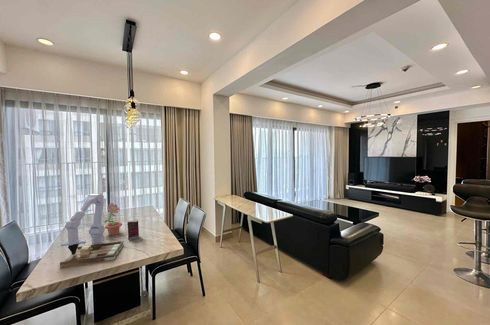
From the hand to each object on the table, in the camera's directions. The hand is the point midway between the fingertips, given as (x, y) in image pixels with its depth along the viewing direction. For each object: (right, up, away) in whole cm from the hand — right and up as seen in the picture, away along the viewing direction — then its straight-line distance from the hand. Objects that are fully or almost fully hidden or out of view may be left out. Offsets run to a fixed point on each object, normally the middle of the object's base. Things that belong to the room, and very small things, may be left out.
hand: (74, 254), depth 146 cm
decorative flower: (0, -1, +43) cm, 43 cm away
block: (+7, -1, +2) cm, 7 cm away
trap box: (+13, -3, +4) cm, 14 cm away
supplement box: (+26, -1, +33) cm, 42 cm away
